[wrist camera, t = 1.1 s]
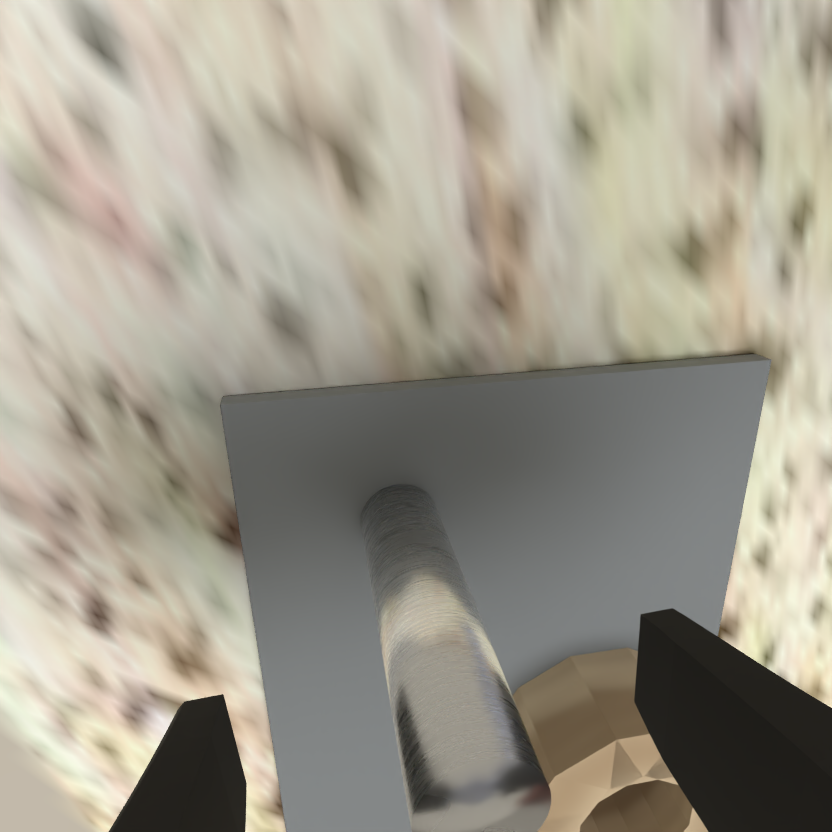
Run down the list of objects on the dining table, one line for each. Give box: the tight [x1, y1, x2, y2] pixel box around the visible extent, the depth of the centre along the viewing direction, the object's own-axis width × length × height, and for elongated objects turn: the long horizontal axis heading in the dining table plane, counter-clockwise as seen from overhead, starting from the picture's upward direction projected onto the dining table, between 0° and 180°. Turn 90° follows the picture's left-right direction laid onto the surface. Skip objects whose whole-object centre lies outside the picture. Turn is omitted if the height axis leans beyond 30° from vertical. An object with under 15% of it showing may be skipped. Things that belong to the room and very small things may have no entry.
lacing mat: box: [220, 354, 771, 832], centre depth 18 cm, size 14×17×1 cm
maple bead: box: [513, 647, 708, 832], centre depth 19 cm, size 7×7×3 cm
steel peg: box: [361, 484, 551, 832], centre depth 12 cm, size 2×2×8 cm
